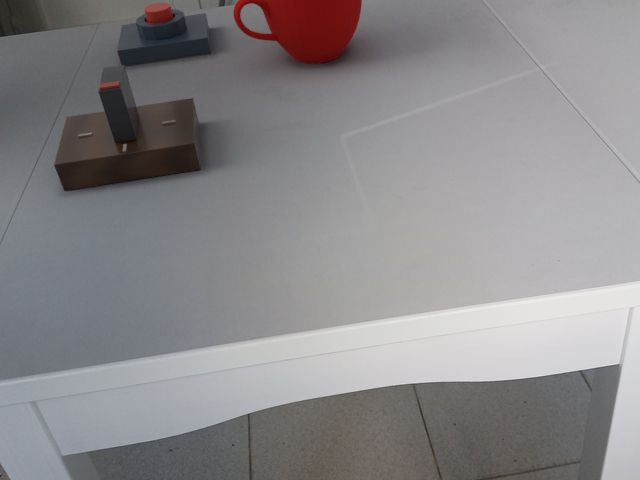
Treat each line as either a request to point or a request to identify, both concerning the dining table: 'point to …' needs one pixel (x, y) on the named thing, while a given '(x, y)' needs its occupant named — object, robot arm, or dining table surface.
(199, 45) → the button box
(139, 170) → the dial panel
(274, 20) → the ceramic cup
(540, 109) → the dining table surface
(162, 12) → the button
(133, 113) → the pointer knob
